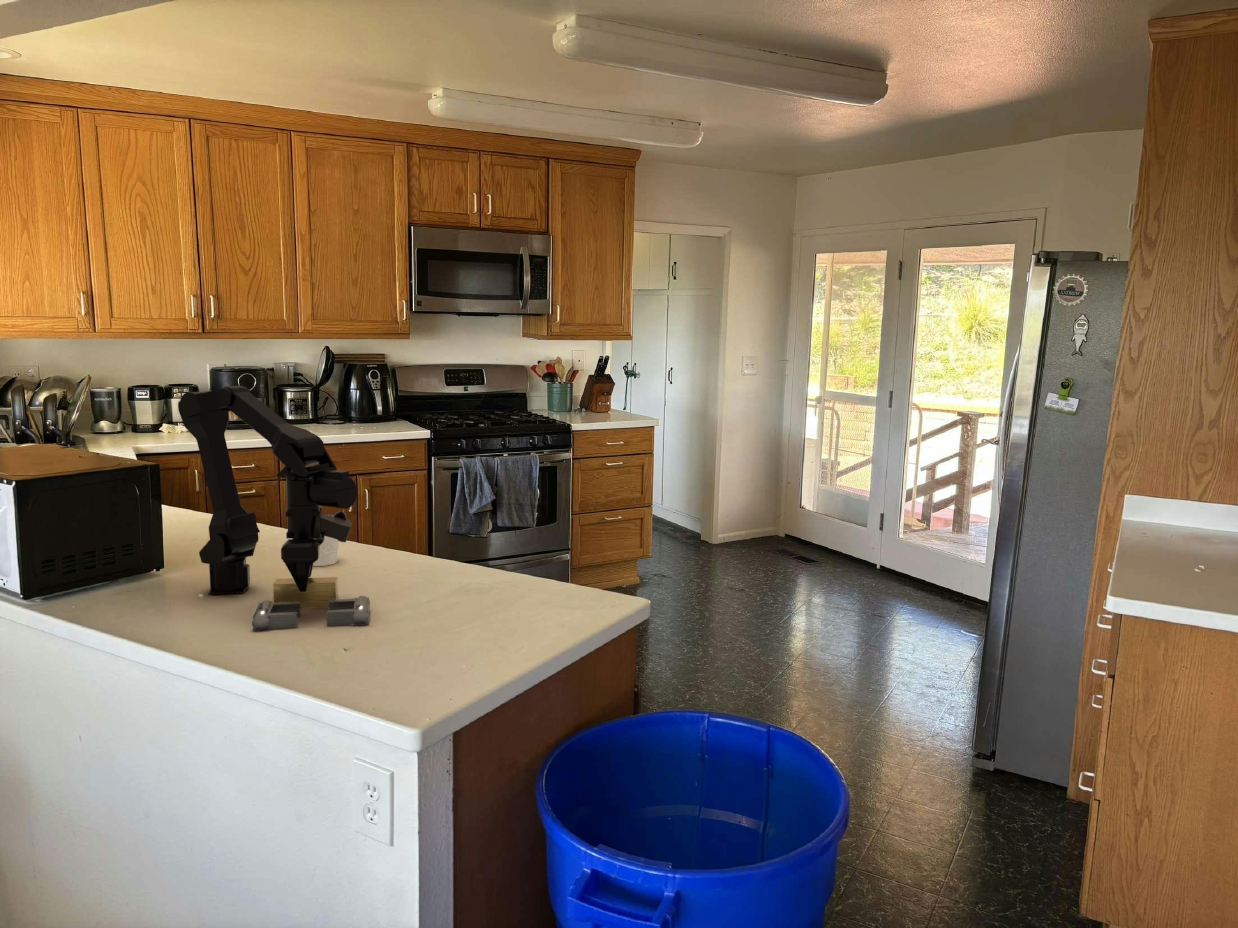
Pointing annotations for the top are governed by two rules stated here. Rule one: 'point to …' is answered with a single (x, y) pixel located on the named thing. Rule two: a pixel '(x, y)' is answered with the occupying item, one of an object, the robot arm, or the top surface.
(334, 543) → the white cup
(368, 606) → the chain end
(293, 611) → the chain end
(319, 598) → the gold ingot
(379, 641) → the top surface
